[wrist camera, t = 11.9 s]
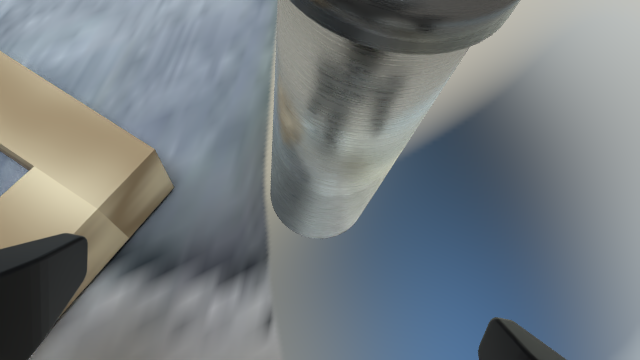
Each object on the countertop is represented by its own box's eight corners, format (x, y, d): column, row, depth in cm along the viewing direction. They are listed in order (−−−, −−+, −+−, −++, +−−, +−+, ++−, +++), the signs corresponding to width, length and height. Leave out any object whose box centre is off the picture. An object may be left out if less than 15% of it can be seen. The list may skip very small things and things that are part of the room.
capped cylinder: (301, 266, 17) (385, 53, 5) (244, 175, 18) (208, -153, 7) (391, 210, 19) (606, -49, 7) (331, 130, 20) (427, -197, 8)
